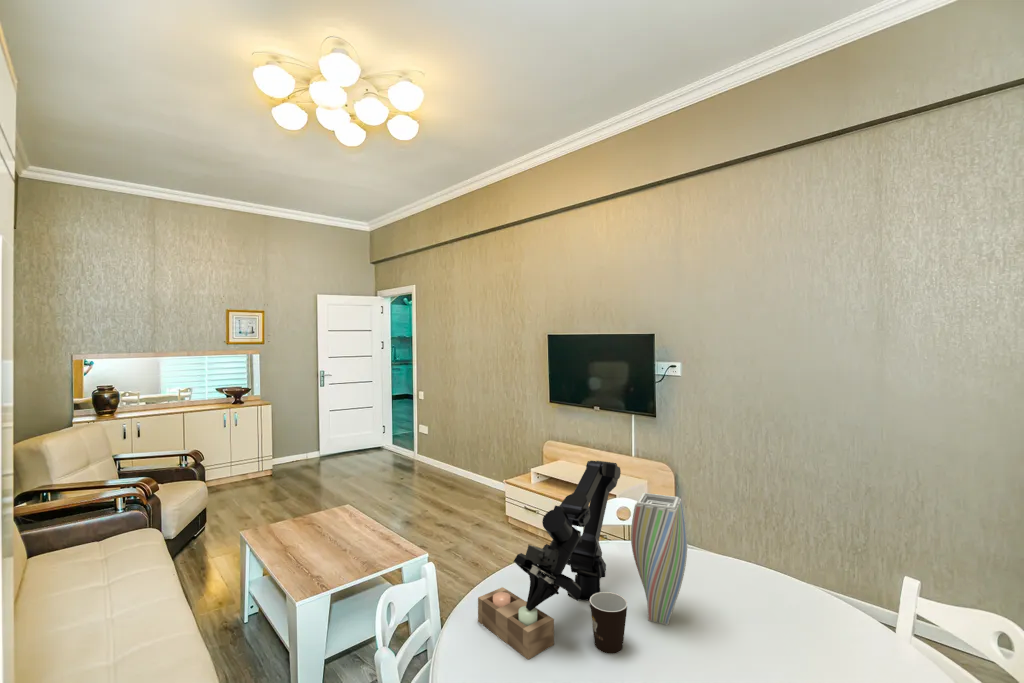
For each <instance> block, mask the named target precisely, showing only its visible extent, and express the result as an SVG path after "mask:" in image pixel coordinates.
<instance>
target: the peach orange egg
mask: <svg viewBox="0 0 1024 683" xmlns="http://www.w3.org/2000/svg"><path fill="white" fill-rule="evenodd" d="M509 603H510V595H509V594H508V593H505V592H498V593H495V594H494V595H493V604H495V605H496V606H498V607H499V608H500V607H503V606H505V605H507V604H509Z"/></svg>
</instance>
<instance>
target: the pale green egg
mask: <svg viewBox="0 0 1024 683" xmlns="http://www.w3.org/2000/svg"><path fill="white" fill-rule="evenodd" d="M536 608H537V607H536ZM536 608H534V609H532V610H531V611H529V610H528V609H527V608H526V606H523V607H521V608H520V609H519V621H520V622H521V623H523V624H524V625H526V626H529V625H531V624H533V623H535V622H537V609H538V608H537V609H536Z"/></svg>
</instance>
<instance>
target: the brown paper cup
mask: <svg viewBox="0 0 1024 683" xmlns="http://www.w3.org/2000/svg"><path fill="white" fill-rule="evenodd" d="M589 606H590V607H589V608H590V616H591V624H592V632H593V640H594V646H595V648H596V649H597V650H598V651H600V652H602V653H604V654H610V655H611V654H612V655H614V654H618V653H620V652H621V651H622V650H623V648H624V647H623V646H624V638H625V629H626V622H627V610H628V601H627V599H626V598H625V597H623V596H622V595H620V594H618V593H616V592H610V591H602V592H601V591H600V592H599V593H594V594H593V595H592V596H591V597H590V601H589Z"/></svg>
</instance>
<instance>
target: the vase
mask: <svg viewBox="0 0 1024 683" xmlns="http://www.w3.org/2000/svg"><path fill="white" fill-rule="evenodd" d="M630 531H631V532H630V544H631V550H632V551H631V552H632V555H633V559H634V562H635V566H636V569H637V572H638V576H639V578H640V580H641V584H642V587H643V589H644V593H645V597H646V598H645V599H646V603H647V605H646V606H647V621H648V622H649V621H650V622H653V623H657V624H663V625H666V626H669V623H670V619H671V617H672V613H673V612H674V608H675V605H676V603H677V601H678V597H679V594H680V591H681V588H682V585H683V580H684V576H685V571H686V566H687V557H688V536H687V535H688V533H687V525H686V519H685V512H684V506H683V502H682V498H680V497H679V496H674V495H673V496H672V495H664V494H656V493H649V492H643V493H642V494H641V496H639V499H638V500H637V501H636V503H635V504H634V509H633V514H632V519H631V529H630Z"/></svg>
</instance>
